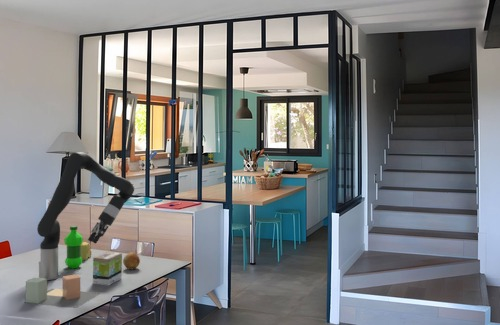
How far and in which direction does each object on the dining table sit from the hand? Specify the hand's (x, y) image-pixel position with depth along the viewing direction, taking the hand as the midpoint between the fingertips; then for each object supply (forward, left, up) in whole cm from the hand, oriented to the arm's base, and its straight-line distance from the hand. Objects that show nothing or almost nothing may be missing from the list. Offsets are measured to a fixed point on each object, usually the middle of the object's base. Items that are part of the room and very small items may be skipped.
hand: (91, 241), depth 252 cm
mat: (-7, -13, -26) cm, 30 cm away
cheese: (-43, +61, -26) cm, 79 cm away
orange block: (-4, -11, -25) cm, 28 cm away
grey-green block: (-17, -20, -25) cm, 37 cm away
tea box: (-1, +19, -26) cm, 32 cm away
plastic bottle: (-35, +40, -26) cm, 59 cm away
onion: (0, +46, -26) cm, 53 cm away
